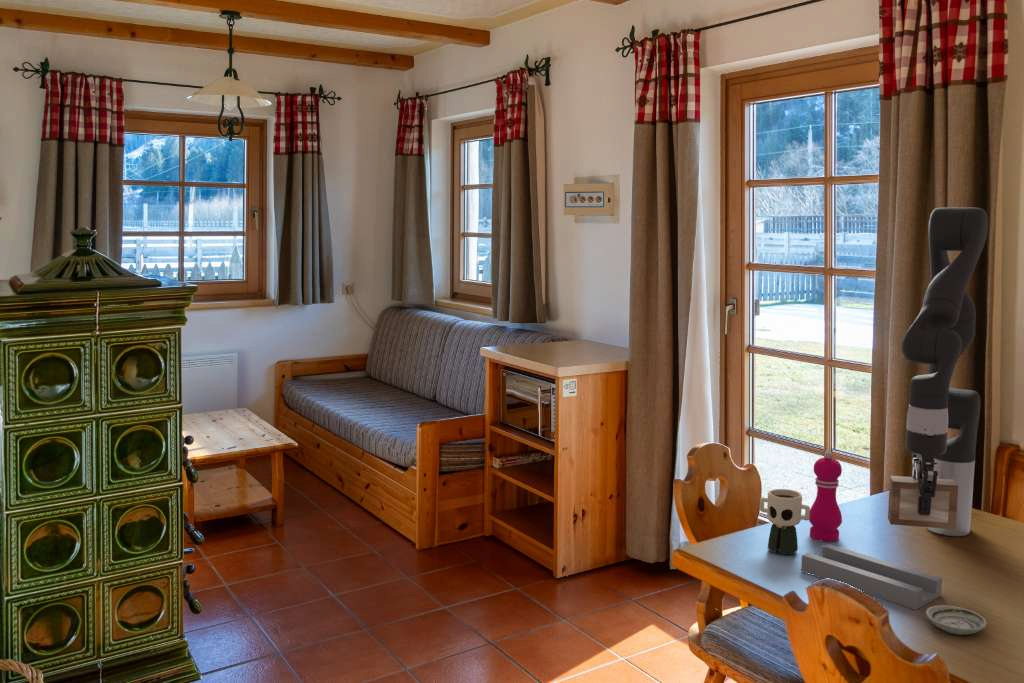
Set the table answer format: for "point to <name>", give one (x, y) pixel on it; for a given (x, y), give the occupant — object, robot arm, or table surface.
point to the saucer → (956, 619)
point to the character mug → (784, 518)
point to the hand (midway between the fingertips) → (921, 510)
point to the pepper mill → (826, 500)
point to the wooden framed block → (906, 503)
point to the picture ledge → (874, 576)
